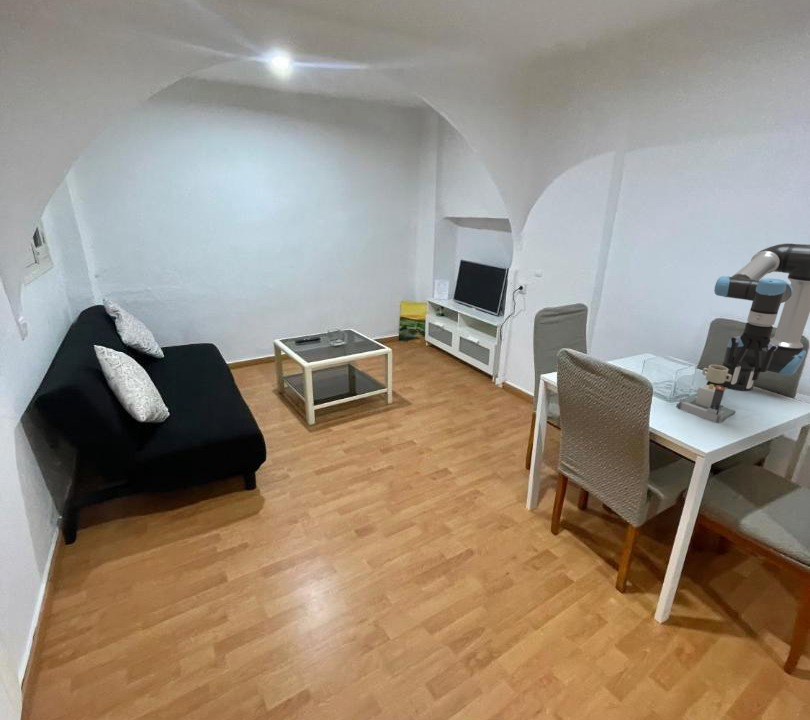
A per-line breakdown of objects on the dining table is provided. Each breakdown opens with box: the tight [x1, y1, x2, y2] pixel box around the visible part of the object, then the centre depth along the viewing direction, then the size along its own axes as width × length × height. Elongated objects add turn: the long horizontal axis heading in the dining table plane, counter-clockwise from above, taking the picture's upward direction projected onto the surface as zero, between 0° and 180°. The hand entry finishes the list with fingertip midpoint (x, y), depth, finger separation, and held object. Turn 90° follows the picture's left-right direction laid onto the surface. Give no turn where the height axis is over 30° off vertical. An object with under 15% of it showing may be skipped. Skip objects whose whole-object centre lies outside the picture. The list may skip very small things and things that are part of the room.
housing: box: [695, 384, 715, 407], centre depth 175 cm, size 6×6×9 cm
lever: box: [707, 385, 727, 415], centre depth 165 cm, size 3×3×11 cm
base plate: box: [675, 396, 737, 424], centre depth 174 cm, size 15×16×4 cm
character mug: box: [701, 364, 732, 387], centre depth 188 cm, size 11×7×13 cm, turn 36°
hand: (741, 385), depth 158 cm, fingers open, 4 cm apart
